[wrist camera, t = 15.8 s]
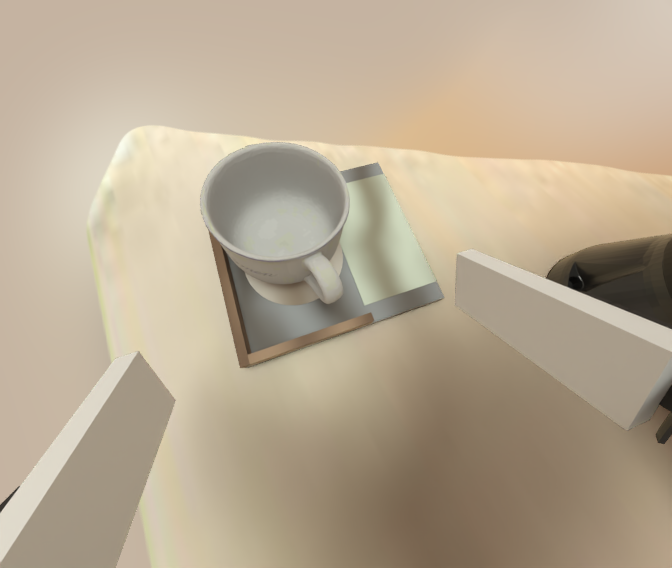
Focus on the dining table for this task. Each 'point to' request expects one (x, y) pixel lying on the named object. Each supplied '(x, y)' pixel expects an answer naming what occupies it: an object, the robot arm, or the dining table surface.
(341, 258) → the board
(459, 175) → the dining table surface
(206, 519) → the dining table surface
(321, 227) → the teacup
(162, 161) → the dining table surface
